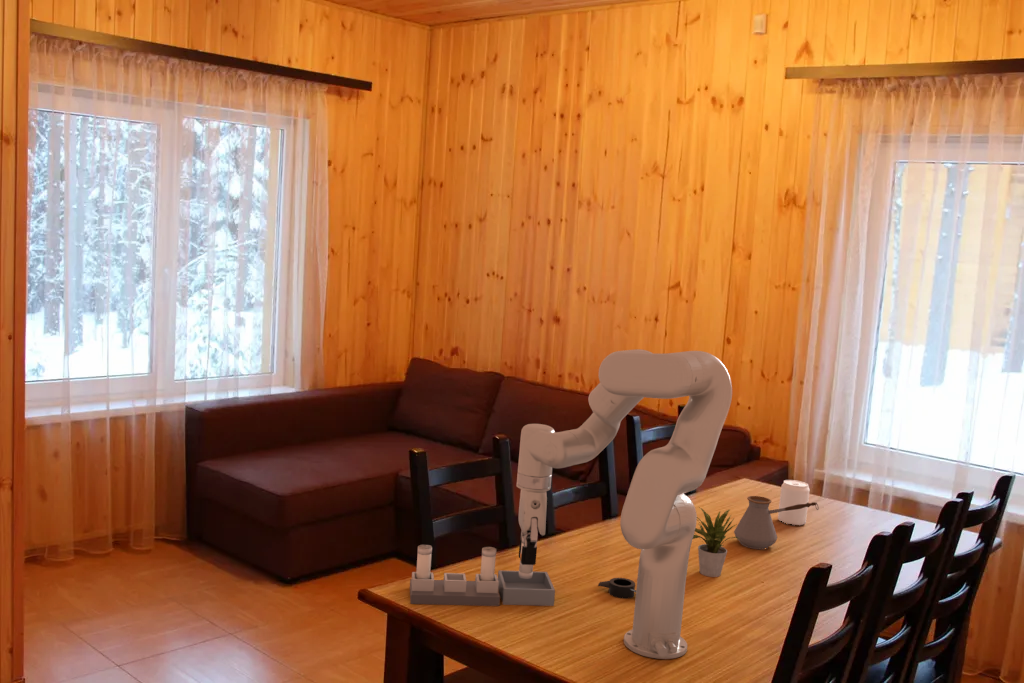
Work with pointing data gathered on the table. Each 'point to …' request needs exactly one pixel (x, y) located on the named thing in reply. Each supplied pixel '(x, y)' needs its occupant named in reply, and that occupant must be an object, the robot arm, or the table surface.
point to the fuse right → (488, 564)
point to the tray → (525, 589)
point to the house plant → (712, 544)
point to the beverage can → (793, 502)
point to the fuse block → (454, 590)
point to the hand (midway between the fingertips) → (526, 560)
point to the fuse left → (423, 562)
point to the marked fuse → (525, 566)
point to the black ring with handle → (620, 587)
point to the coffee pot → (760, 523)
